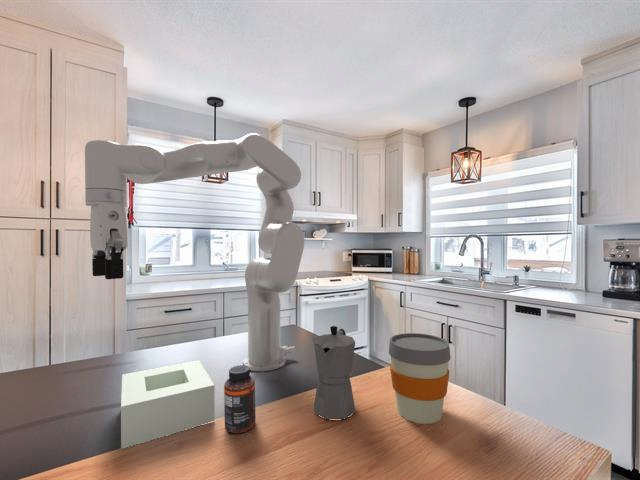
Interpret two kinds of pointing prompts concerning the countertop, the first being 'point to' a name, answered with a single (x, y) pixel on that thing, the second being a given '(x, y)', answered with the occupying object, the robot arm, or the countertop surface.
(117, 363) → the countertop surface
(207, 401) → the sage block
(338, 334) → the coffeepot
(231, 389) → the supplement bottle
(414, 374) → the reusable coffee cup
